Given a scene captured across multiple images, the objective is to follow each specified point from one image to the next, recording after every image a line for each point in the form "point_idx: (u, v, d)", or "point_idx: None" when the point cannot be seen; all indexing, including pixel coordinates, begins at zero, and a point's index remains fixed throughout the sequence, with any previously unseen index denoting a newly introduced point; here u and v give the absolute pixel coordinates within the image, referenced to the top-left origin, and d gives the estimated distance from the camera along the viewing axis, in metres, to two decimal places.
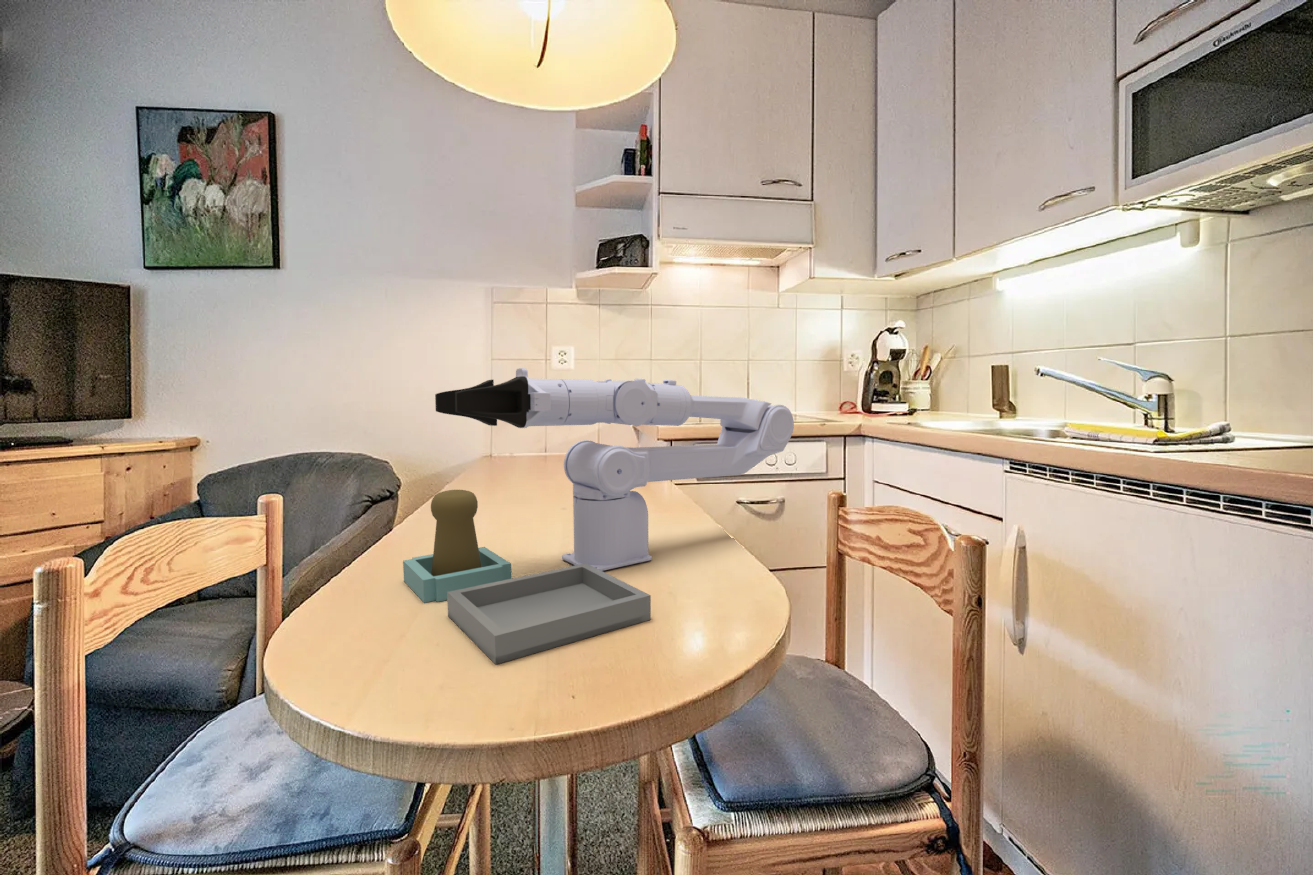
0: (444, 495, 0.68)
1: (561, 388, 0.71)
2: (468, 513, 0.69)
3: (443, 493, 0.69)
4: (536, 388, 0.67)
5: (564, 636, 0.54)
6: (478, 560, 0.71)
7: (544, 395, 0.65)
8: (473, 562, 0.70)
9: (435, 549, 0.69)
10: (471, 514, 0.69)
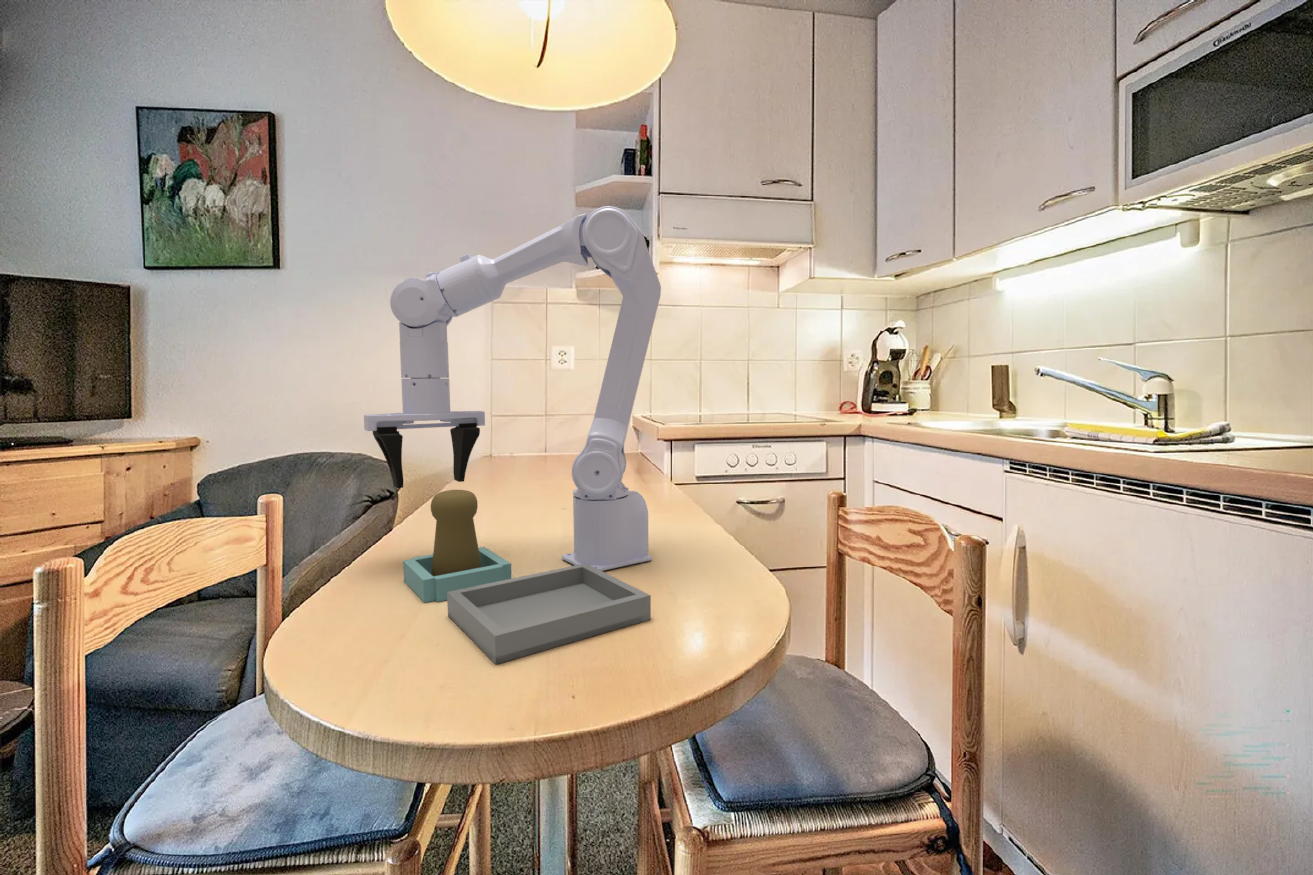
0: (444, 495, 0.68)
1: None
2: (468, 513, 0.69)
3: (443, 493, 0.69)
4: None
5: (564, 636, 0.54)
6: (478, 560, 0.71)
7: (364, 420, 0.74)
8: (473, 562, 0.70)
9: (435, 549, 0.69)
10: (470, 514, 0.69)
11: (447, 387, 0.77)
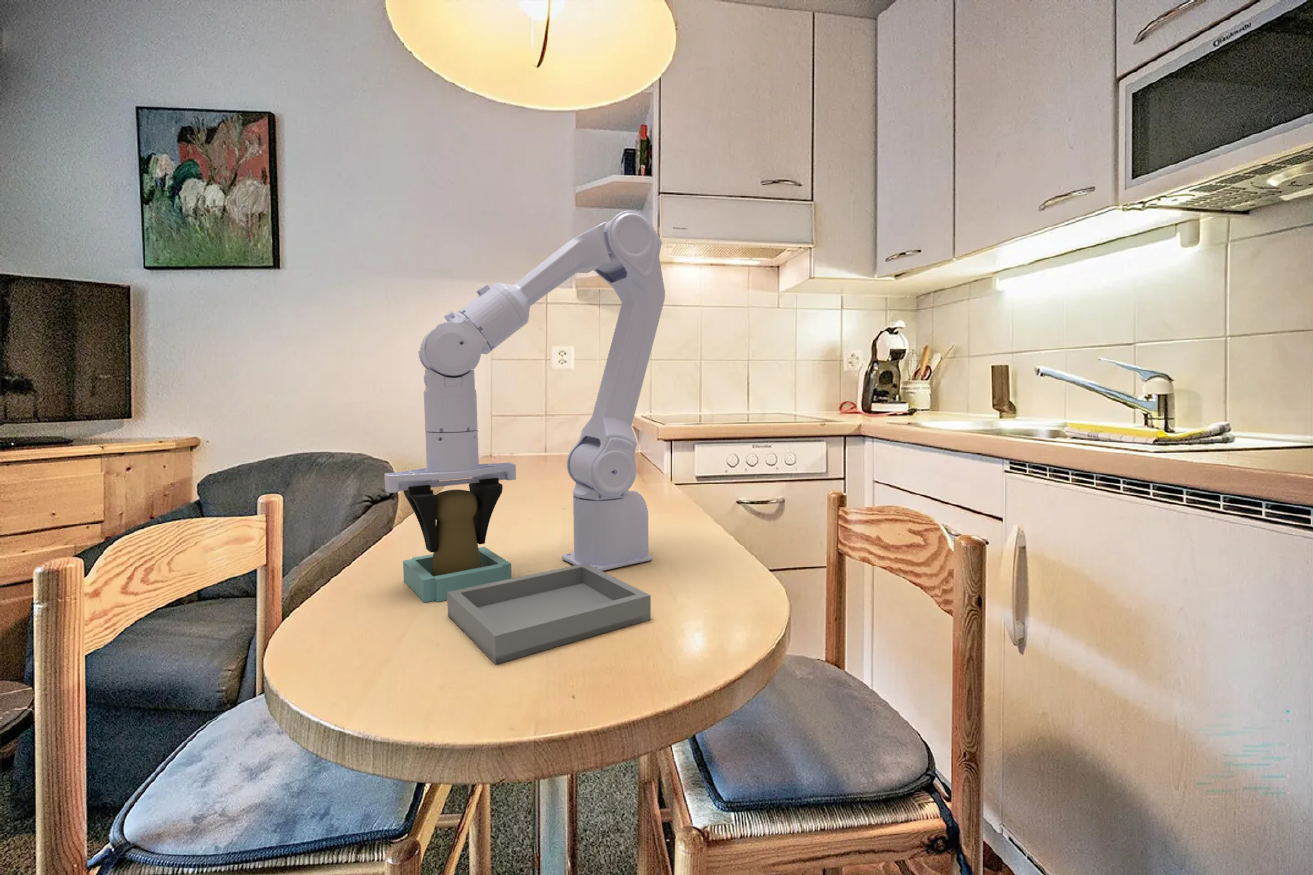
0: (444, 495, 0.68)
1: None
2: (468, 513, 0.69)
3: (443, 493, 0.69)
4: None
5: (564, 636, 0.54)
6: (478, 560, 0.71)
7: (385, 480, 0.66)
8: (473, 562, 0.70)
9: None
10: (471, 514, 0.69)
11: (476, 440, 0.69)
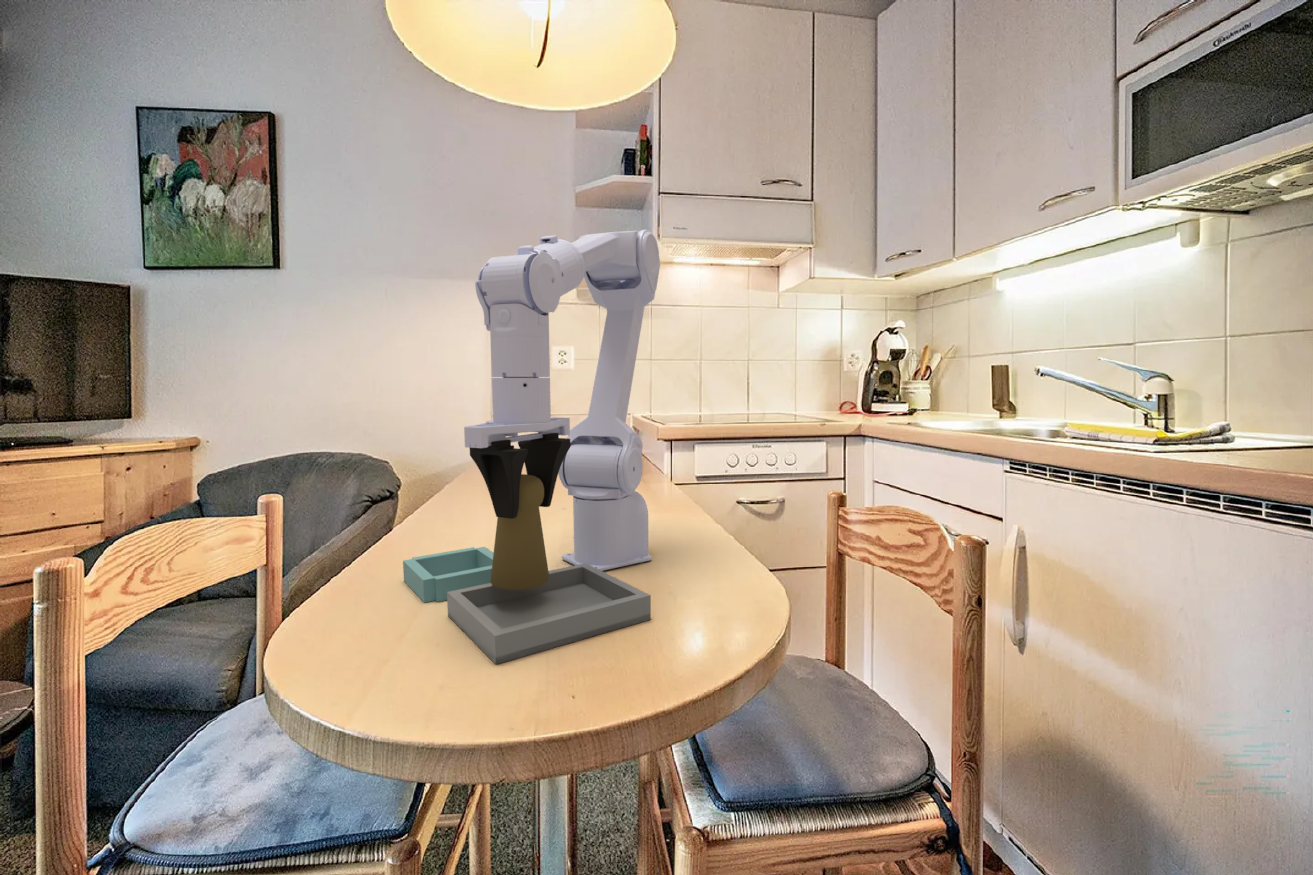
0: None
1: (492, 385, 0.59)
2: (542, 498, 0.62)
3: None
4: None
5: (564, 636, 0.54)
6: None
7: (466, 434, 0.55)
8: (545, 552, 0.63)
9: (506, 544, 0.60)
10: None
11: None
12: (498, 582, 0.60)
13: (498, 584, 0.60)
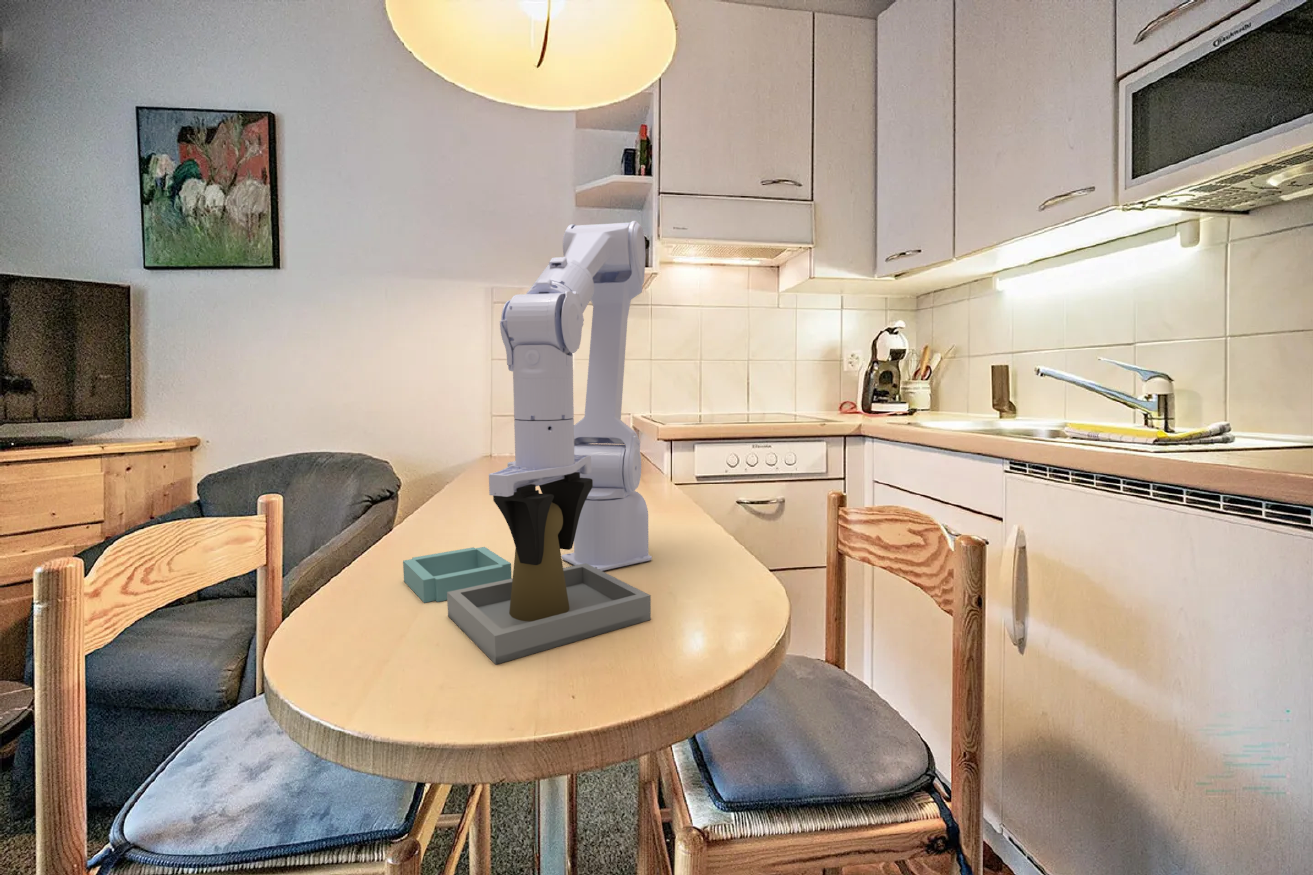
0: None
1: (515, 427, 0.57)
2: (561, 525, 0.60)
3: None
4: None
5: (564, 636, 0.54)
6: None
7: (491, 482, 0.53)
8: None
9: (526, 574, 0.58)
10: (561, 526, 0.60)
11: None
12: (518, 614, 0.58)
13: (518, 616, 0.58)
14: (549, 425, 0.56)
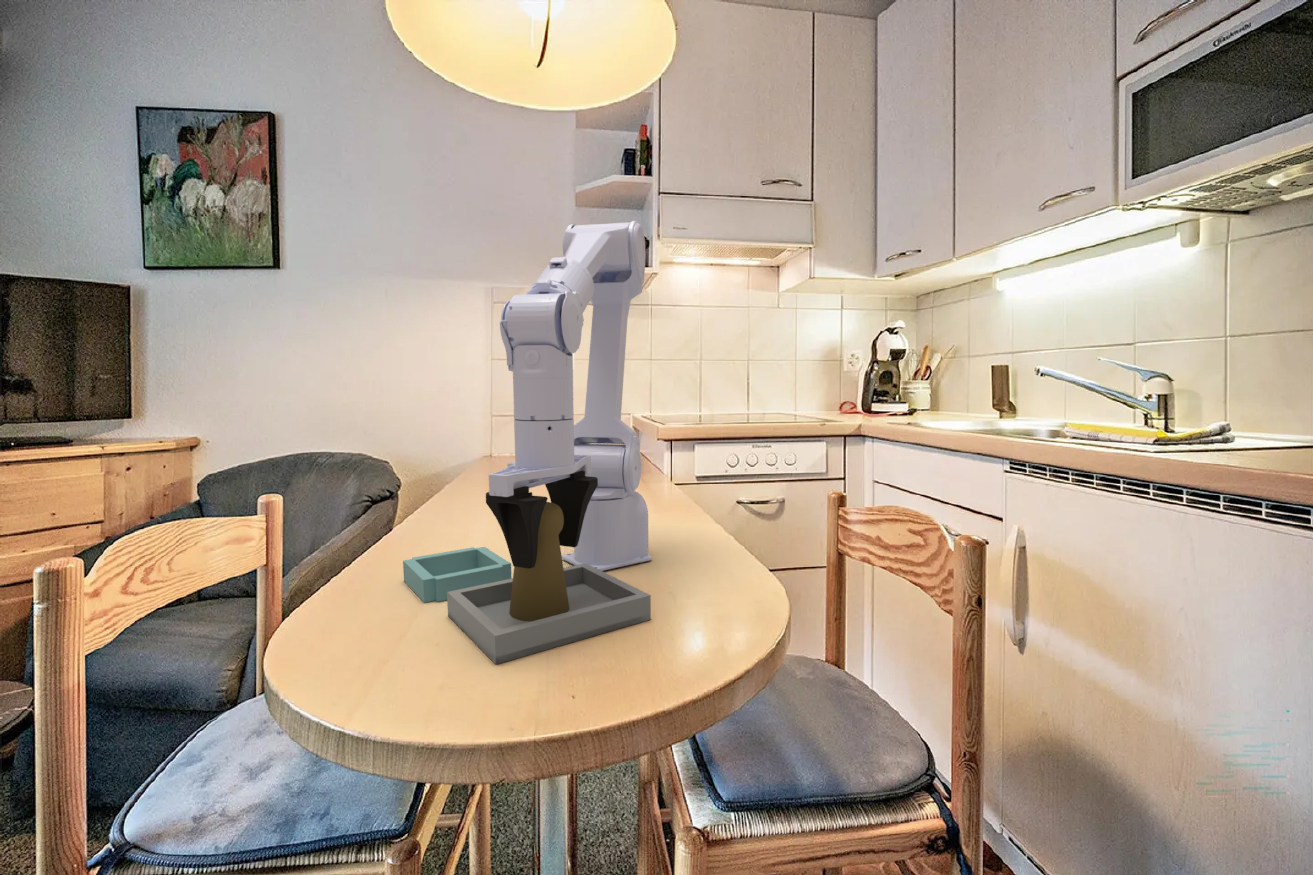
0: None
1: (515, 427, 0.57)
2: (562, 526, 0.60)
3: None
4: None
5: (564, 636, 0.54)
6: None
7: (491, 482, 0.53)
8: None
9: (526, 574, 0.58)
10: (562, 527, 0.60)
11: None
12: (518, 614, 0.58)
13: (518, 616, 0.58)
14: (549, 425, 0.56)
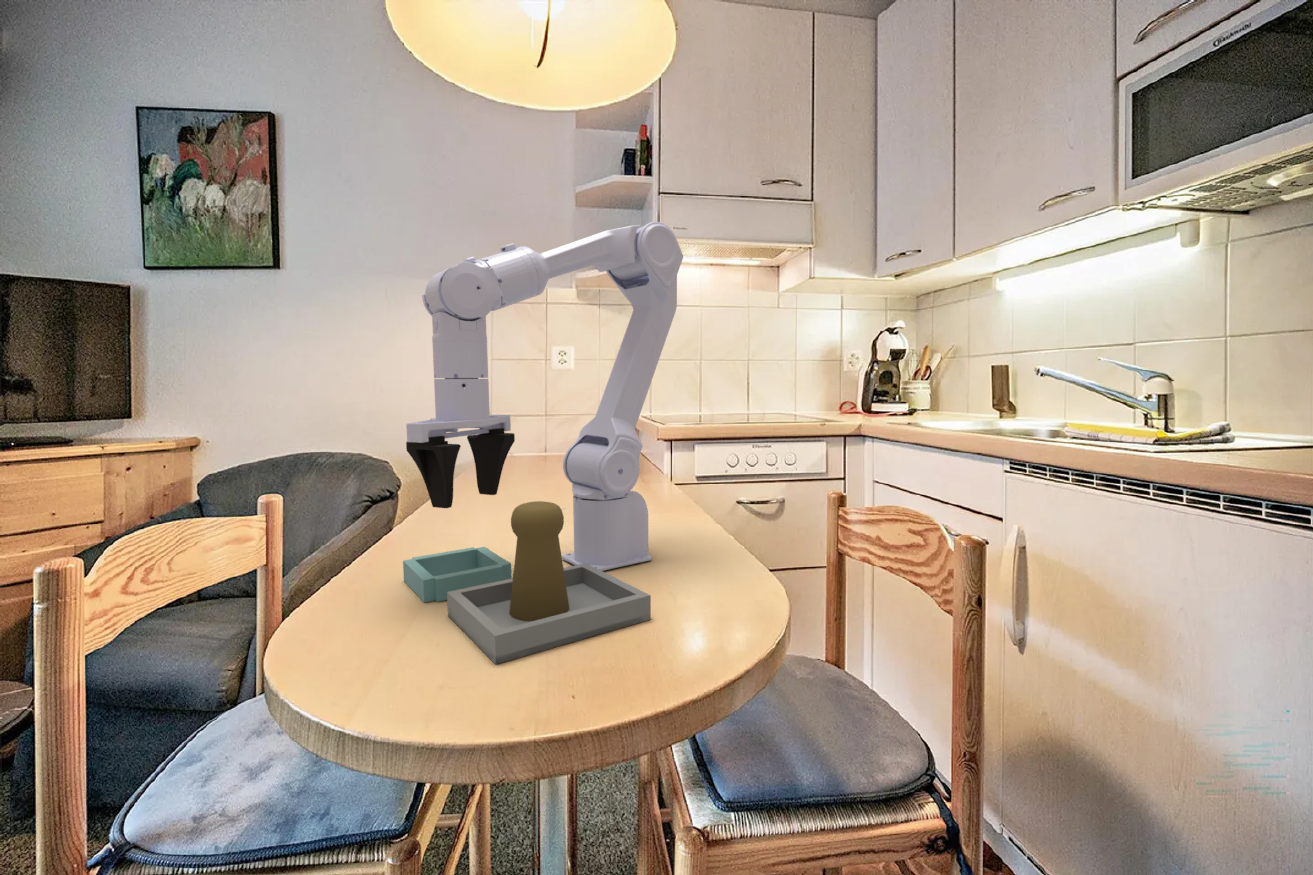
0: (538, 508, 0.58)
1: (434, 385, 0.65)
2: (562, 526, 0.60)
3: (532, 506, 0.59)
4: None
5: (564, 636, 0.54)
6: None
7: (408, 430, 0.60)
8: None
9: (526, 574, 0.58)
10: (562, 527, 0.60)
11: None
12: (518, 614, 0.58)
13: (518, 616, 0.58)
14: (463, 383, 0.64)
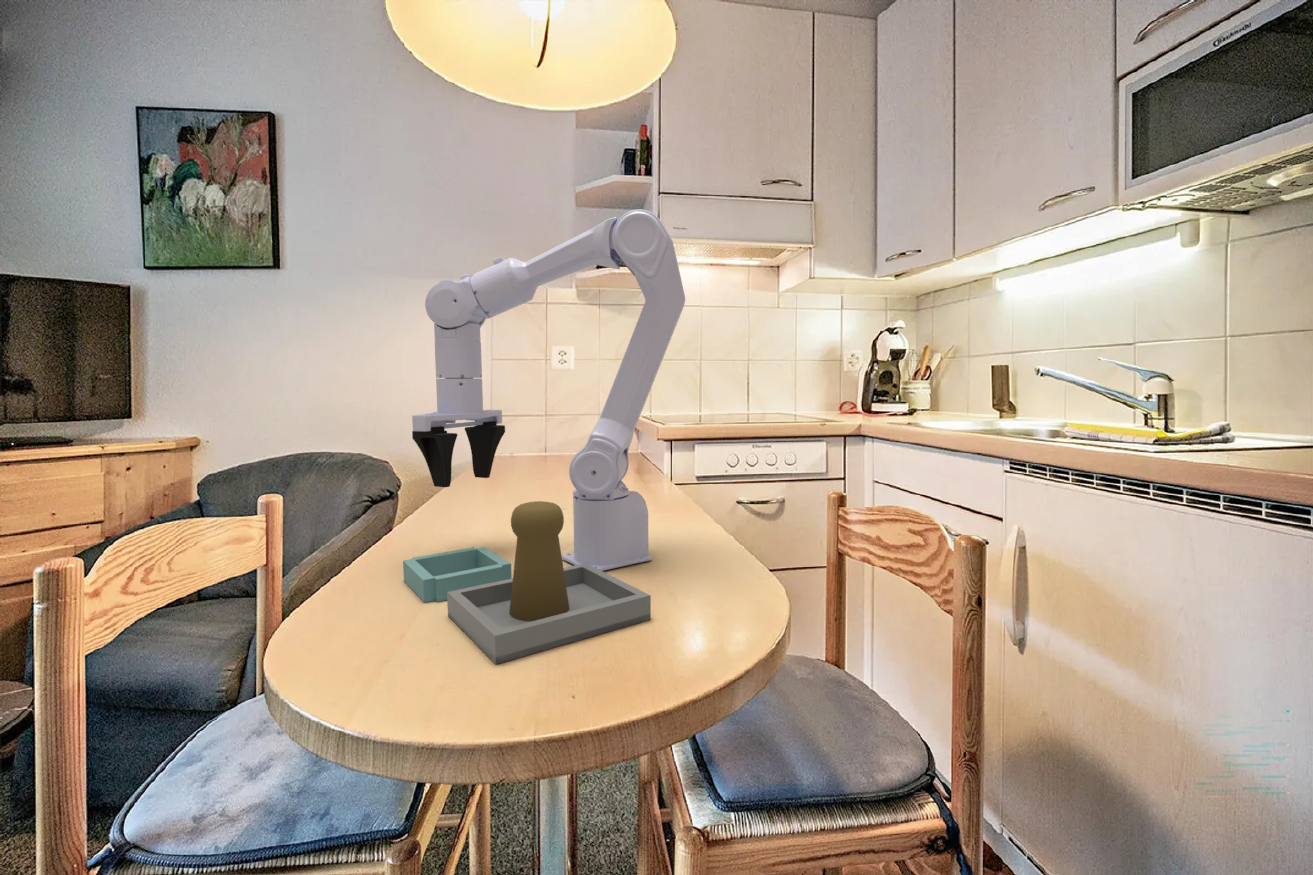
0: (538, 508, 0.58)
1: (436, 384, 0.77)
2: (562, 526, 0.60)
3: (532, 506, 0.59)
4: None
5: (564, 636, 0.54)
6: None
7: (414, 421, 0.72)
8: None
9: (526, 574, 0.58)
10: (562, 527, 0.60)
11: None
12: (518, 614, 0.58)
13: (518, 616, 0.58)
14: (460, 382, 0.76)
